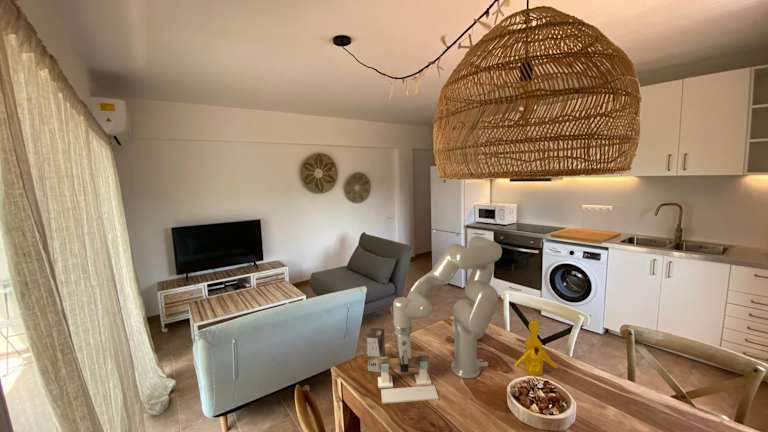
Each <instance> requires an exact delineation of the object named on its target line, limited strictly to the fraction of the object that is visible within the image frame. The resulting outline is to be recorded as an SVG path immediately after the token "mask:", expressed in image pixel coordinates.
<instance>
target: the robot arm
mask: <svg viewBox="0 0 768 432" xmlns="http://www.w3.org/2000/svg"><path fill="white" fill-rule="evenodd" d="M468 241H469V242H468V247H466V245H465V246H464V245H462V244H460V243H452V244H449V246H448V247H447V248H446V250H445V251H444V252H443V254H442V255H441V257H440V258H439V259H438V261H437V262H436V263H435V265H434V267H433V268H432V270H430V271H429V272H428V273H425V274H424V275H423V276H421V277H420V278H419V279H418V280H417V281H416V282H415V283H414V285H413V286H412V287H411V289H410V290H409V291H408V294H407V297H404V296H403V297H402V296H399V297H396V298H395V299H394V300H393V302H392V308H393V310H392V312H393V313H392V314H393V333H394V334H395V335H396V345H397V351H398V356H399V357H398V358H400V359H401V363H400V369H399V370H400V373H408V372H409V368H408V358H411V357H413V356H412V343H411V342H412V341H411V334H412V333H413V318H418V319H423V318H427V317H429V316H430V315H431V314H432V313H433V305H432V304H431V302H430V301H429V300H428V298H427V297H426V296H427V295H428V294H429V291H431V290H432V289H434V287H436V286H440V285H441V286H442V285H448V284H450V282H451V281H452V279H453V278H454V276H455V275H456V273H457V272H458V270H459V269H461V270H464V271H465V270H466V271H467V270H471V271H470V274H469V277H468V280H467V282H466V284H465V286H464V287H465V288H464V293H465V295H466V296H467V297H468V298H469V299H470V300H471V301H472V302H471V301H470V300H468V299H460V300H457V301H456V302H455V303H454V305H453V308H452V317H453V321H454V325H455V333H454V360H453V361H452V362H451V364H450V370H451V372H452V373H453V374H454V375H456V376H458V377H460V378H463V379H474V378H477V377H478V376H479V375H480V374H481V368H482V367H489V364H488V361H484V360H483V358H479V359H478V339H477V334H481V333H483V332H484V331H485V332H486V331H487V329H488V327H489V325H490V323H491V322H492V321H491V320H492V319H493V316H494V313H495V310H496V308H497V306H498V303H499V293H498V290H496V288H495V287H494V286H492V285H491V284H490V283H491V280H492V278H493V275H494V272H495V263H496V262H497V261H499V260H500V258H501V257H502V254H503V249H502V246H501V245H500V244H499V243H498V242H496V241H494V240H491V239H489V238H487V237H483V236H480V235H474V236H472V237H471V238H470V239H469V240H468ZM402 359H404V360H403V361H402Z"/></svg>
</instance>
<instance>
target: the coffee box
mask: <svg viewBox="0 0 768 432" xmlns="http://www.w3.org/2000/svg"><path fill="white" fill-rule="evenodd" d="M366 339H367V340H366V345H367V347H366V348H367V349H366V350H367V353H366V354H367V371H368V372H375V373H381V370H378V359H381V357H386V348H385V347H386V344H385V342H386V339H385V328H383V327H382V328H379V327H371V328H370V331H369V332H368V334H367V337H366Z"/></svg>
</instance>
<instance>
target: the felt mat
mask: <svg viewBox="0 0 768 432" xmlns="http://www.w3.org/2000/svg"><path fill="white" fill-rule="evenodd" d="M380 394H381V396H380V397H381V404H395V403H406V402H407V403H409V402H420V401H432V400H433V401H434V400H437V401H438V400H440V399H439V398H440V397H439V395H438V392H437V389H436V386H435V385H421V386H409V387H398V388H397V387H396V388H395V387H393V388H380Z"/></svg>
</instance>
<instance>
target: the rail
mask: <svg viewBox="0 0 768 432" xmlns="http://www.w3.org/2000/svg"><path fill="white" fill-rule="evenodd" d="M403 360H404V359H402V361H403ZM423 361H427V362H428V368H431V359H430V356H429V355H425V356H420V357H418V356H412V357H411V358H408V369H417V368H418V369H419V368H420V362H423ZM400 363H401V359H400V358H399V357H393V358H392V357H391V358H388V359H378V370H381V364H389V371H390V370H400Z"/></svg>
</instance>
